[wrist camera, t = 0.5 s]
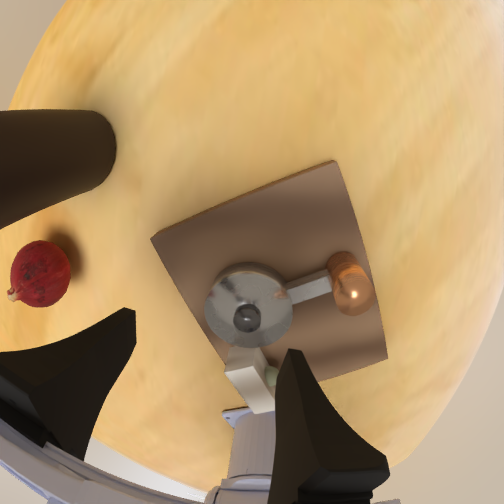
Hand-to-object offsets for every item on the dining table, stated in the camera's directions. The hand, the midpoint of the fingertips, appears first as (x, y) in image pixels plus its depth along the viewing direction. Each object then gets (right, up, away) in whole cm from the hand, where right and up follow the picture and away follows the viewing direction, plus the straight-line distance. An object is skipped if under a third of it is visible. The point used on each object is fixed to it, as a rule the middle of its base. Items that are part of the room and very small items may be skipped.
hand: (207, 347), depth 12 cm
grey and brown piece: (+4, +2, +8) cm, 9 cm away
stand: (+5, +1, +10) cm, 11 cm away
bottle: (-12, +13, +7) cm, 19 cm away
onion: (-16, +4, +11) cm, 20 cm away
